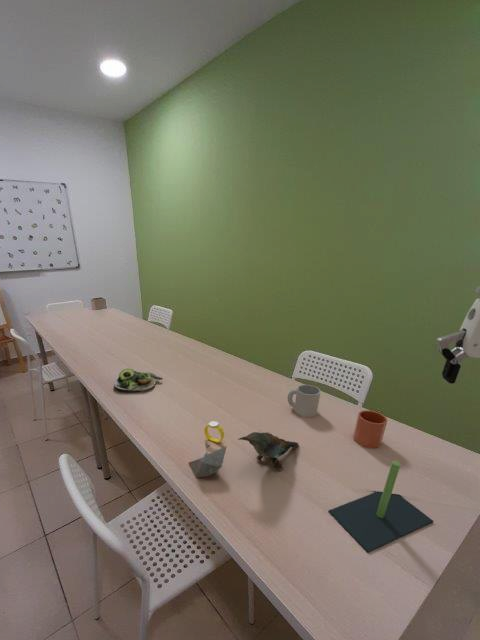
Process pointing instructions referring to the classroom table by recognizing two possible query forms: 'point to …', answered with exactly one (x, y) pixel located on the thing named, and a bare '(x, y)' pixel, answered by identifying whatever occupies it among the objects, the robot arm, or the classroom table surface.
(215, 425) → the gold diamond ring
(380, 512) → the green square stick
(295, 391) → the cup
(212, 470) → the paper boat
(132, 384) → the salad plate
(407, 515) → the mat
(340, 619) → the classroom table surface
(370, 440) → the tumbler
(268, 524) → the classroom table surface
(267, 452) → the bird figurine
